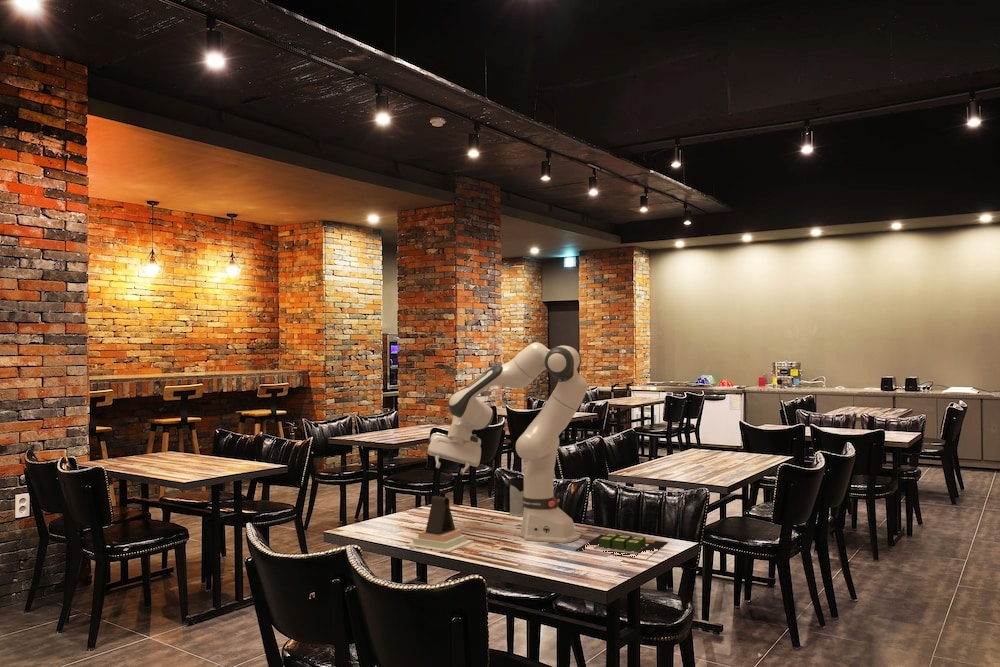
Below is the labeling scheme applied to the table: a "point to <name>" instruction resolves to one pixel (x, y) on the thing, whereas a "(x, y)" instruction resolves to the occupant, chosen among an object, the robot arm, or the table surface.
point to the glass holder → (516, 496)
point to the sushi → (624, 543)
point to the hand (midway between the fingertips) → (449, 470)
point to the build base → (440, 540)
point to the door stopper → (440, 516)
